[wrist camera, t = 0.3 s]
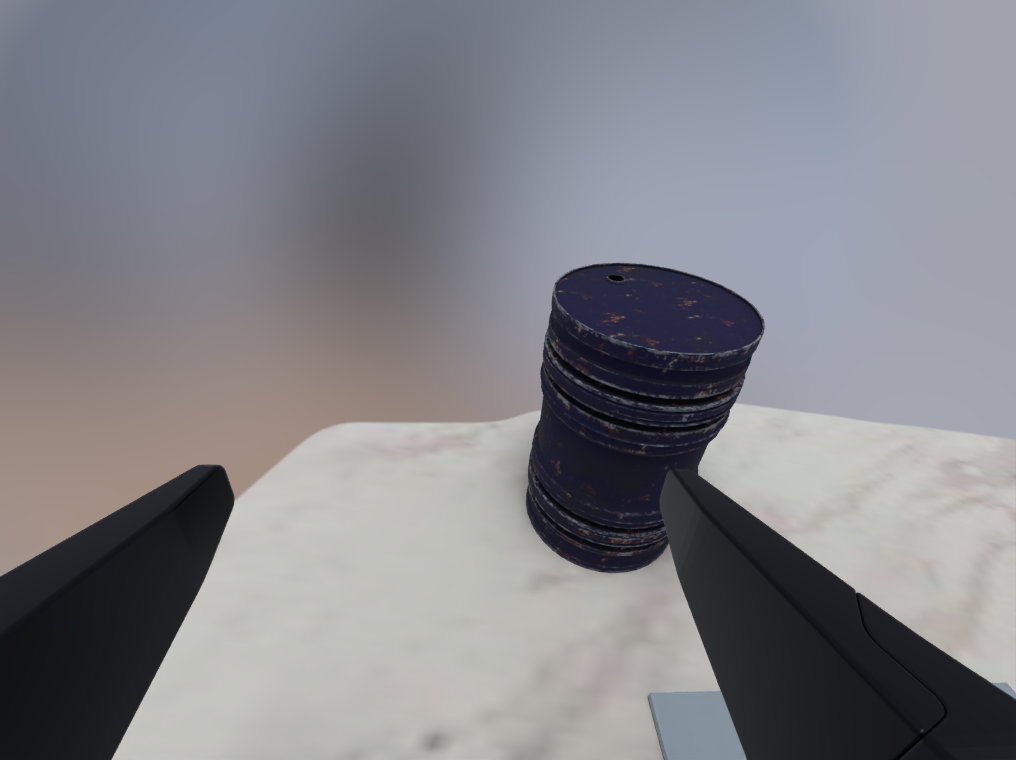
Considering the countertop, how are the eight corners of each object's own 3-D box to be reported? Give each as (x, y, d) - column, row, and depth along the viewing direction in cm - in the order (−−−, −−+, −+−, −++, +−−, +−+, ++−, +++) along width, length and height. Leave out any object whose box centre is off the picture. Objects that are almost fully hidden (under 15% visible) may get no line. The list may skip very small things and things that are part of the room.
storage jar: (707, 536, 28) (816, 329, 20) (581, 604, 24) (649, 380, 15) (608, 438, 35) (657, 253, 27) (498, 477, 31) (513, 274, 22)
